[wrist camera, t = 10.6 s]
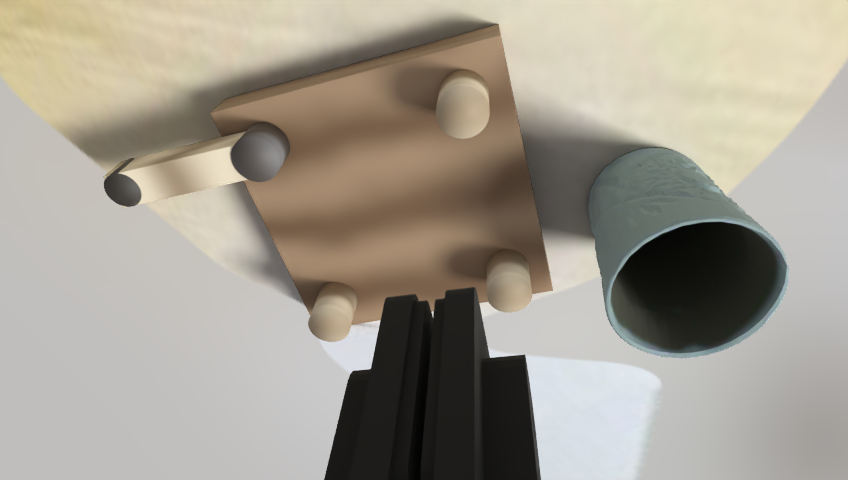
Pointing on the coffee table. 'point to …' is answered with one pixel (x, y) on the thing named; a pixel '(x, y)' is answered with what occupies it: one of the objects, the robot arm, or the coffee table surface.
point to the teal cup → (680, 257)
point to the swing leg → (199, 166)
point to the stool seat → (399, 182)
